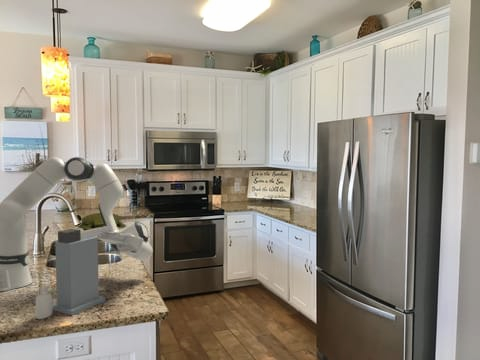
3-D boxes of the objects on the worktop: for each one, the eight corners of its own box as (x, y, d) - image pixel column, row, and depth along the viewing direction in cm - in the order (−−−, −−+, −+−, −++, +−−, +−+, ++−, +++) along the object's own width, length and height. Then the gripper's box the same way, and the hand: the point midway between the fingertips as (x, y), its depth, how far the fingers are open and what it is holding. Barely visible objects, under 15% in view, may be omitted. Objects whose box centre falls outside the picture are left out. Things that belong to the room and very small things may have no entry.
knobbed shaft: (103, 231, 165) (102, 222, 165) (111, 232, 163) (111, 223, 163) (58, 242, 146) (57, 231, 145) (67, 243, 143) (67, 232, 143)
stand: (84, 295, 162) (82, 233, 160) (105, 300, 157) (104, 237, 155) (50, 309, 148) (48, 241, 146) (72, 315, 142) (70, 245, 140)
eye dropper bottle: (35, 316, 142) (34, 283, 141) (51, 312, 145) (51, 281, 144) (36, 320, 138) (35, 287, 137) (53, 316, 141) (53, 284, 140)
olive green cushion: (126, 227, 307) (126, 215, 307) (85, 231, 292) (85, 218, 291) (116, 220, 337) (115, 209, 337) (78, 224, 322) (77, 212, 321)
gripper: (112, 234, 181) (91, 223, 170) (146, 239, 172) (127, 228, 160) (107, 247, 178) (86, 237, 167) (141, 253, 169) (121, 242, 158)
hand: (106, 232), depth 164 cm, fingers open, 8 cm apart
